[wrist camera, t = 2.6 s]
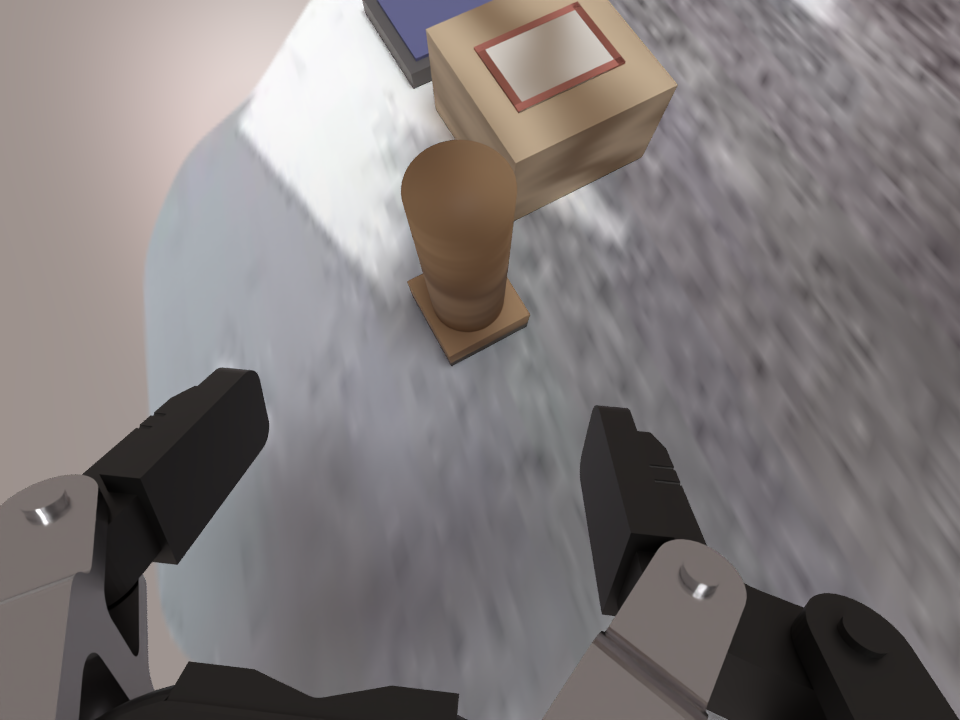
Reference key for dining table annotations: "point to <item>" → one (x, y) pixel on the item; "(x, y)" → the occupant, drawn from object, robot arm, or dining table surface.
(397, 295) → the dining table surface
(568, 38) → the parcel
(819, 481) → the dining table surface
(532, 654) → the dining table surface
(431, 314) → the stamp
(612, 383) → the dining table surface
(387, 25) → the ink pad
